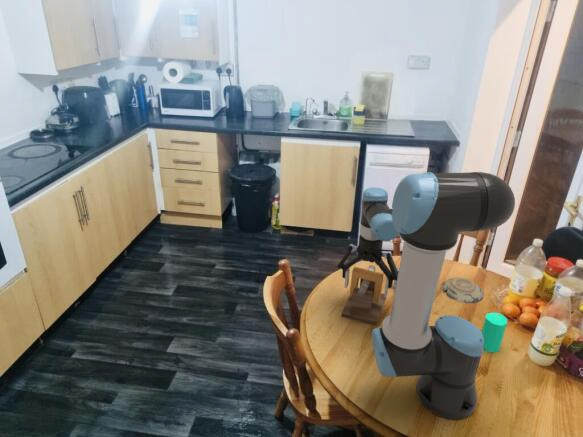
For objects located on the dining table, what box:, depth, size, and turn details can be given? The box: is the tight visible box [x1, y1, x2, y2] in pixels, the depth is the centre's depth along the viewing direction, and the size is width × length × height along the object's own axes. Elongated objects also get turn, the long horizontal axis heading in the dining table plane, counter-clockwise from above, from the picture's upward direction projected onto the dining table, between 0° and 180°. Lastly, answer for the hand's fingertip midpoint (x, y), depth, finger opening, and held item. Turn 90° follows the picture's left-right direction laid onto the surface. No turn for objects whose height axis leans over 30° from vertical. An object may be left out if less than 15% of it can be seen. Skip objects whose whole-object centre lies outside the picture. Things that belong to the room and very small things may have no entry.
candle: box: [481, 312, 509, 353], centre depth 128 cm, size 6×6×12 cm
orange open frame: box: [349, 266, 385, 303], centre depth 144 cm, size 3×10×10 cm, turn 68°
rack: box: [340, 265, 387, 326], centre depth 145 cm, size 16×12×12 cm
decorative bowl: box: [440, 276, 485, 304], centre depth 156 cm, size 15×4×15 cm
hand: (365, 290), depth 145 cm, fingers open, 13 cm apart
